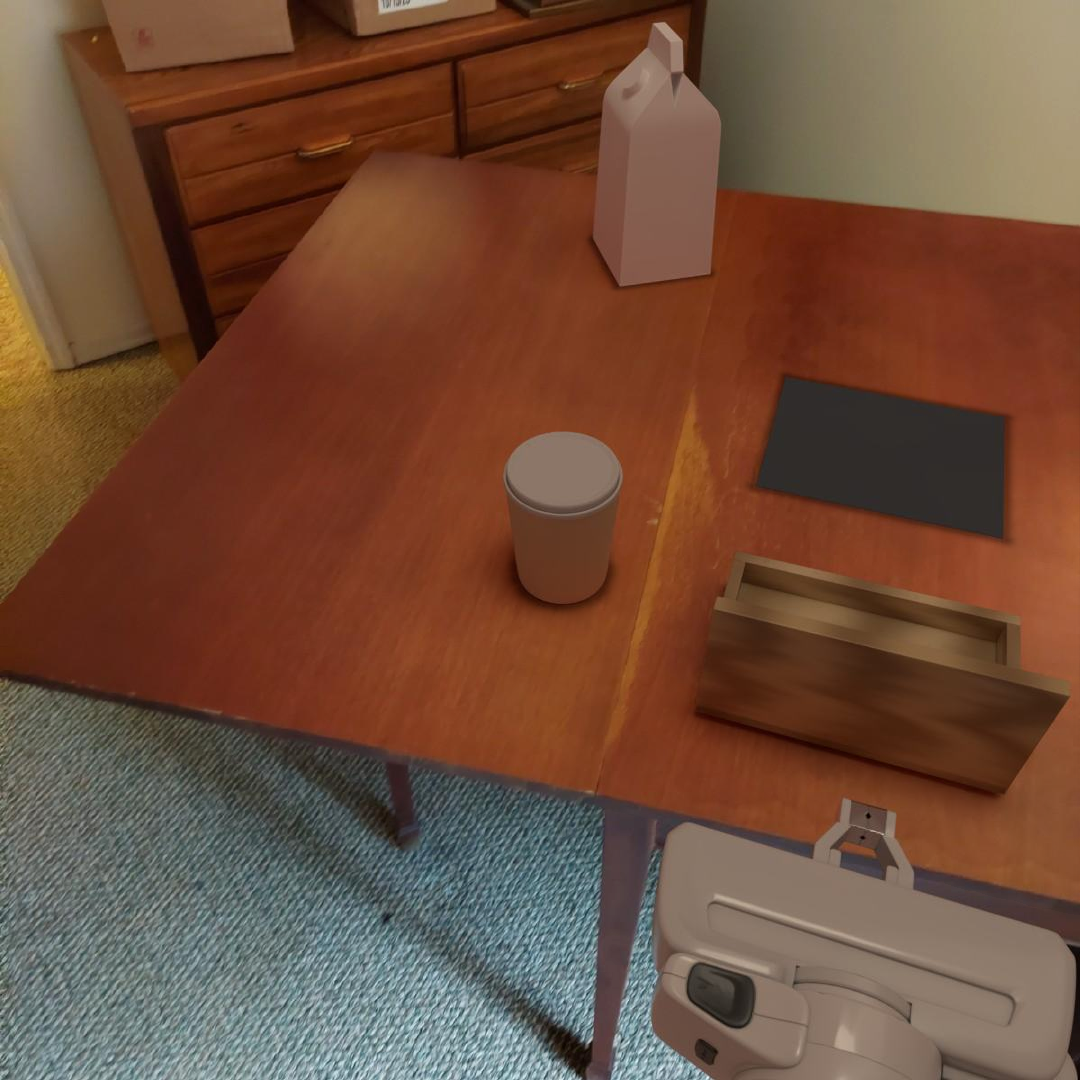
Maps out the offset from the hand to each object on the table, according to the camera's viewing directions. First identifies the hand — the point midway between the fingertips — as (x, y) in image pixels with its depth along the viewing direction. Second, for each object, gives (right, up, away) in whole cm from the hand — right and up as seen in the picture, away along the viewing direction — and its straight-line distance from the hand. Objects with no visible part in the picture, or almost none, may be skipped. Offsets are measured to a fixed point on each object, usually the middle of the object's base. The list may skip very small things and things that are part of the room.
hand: (866, 809), depth 53 cm
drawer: (+6, +4, +21) cm, 23 cm away
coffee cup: (-16, +12, +30) cm, 36 cm away
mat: (+16, +24, +40) cm, 49 cm away
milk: (-4, +50, +67) cm, 84 cm away
